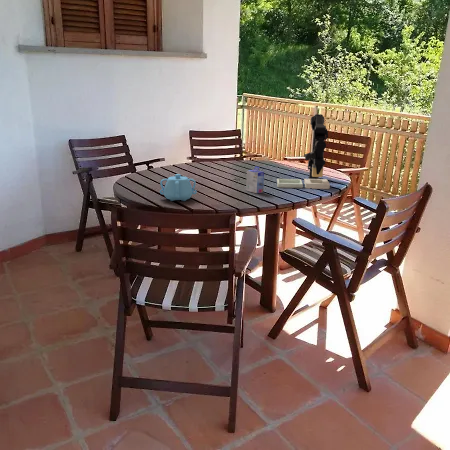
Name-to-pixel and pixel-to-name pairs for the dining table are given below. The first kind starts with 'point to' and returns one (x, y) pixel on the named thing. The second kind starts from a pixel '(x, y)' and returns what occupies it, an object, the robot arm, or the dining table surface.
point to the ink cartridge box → (255, 181)
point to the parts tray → (289, 183)
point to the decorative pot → (178, 188)
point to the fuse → (314, 173)
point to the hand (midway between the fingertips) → (317, 173)
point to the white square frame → (317, 183)
